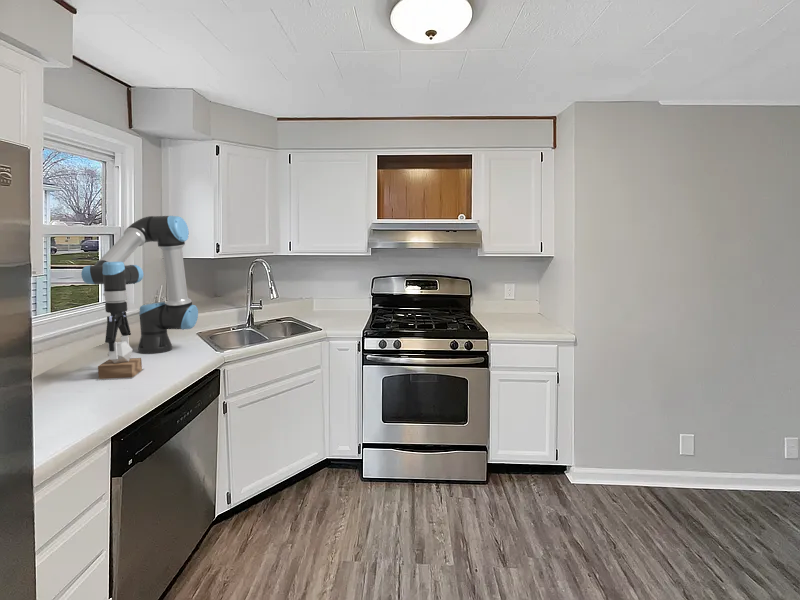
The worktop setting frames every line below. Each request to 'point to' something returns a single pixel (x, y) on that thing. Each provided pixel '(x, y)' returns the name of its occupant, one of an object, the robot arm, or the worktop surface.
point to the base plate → (119, 378)
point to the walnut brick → (119, 369)
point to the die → (122, 352)
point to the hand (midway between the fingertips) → (119, 355)
